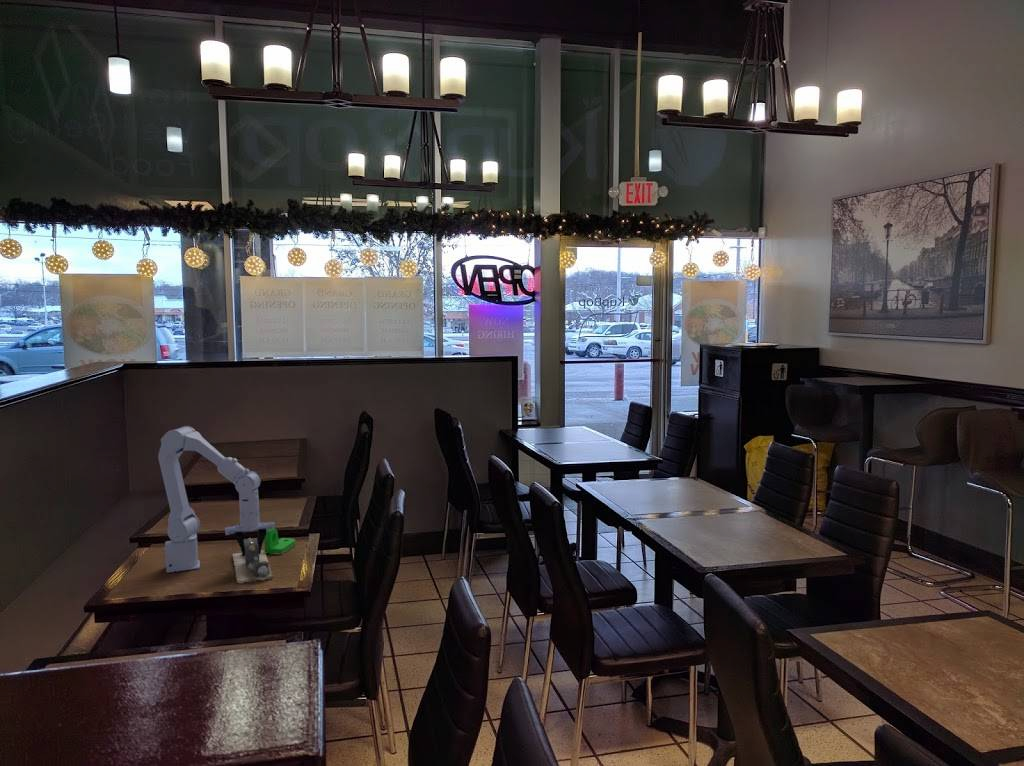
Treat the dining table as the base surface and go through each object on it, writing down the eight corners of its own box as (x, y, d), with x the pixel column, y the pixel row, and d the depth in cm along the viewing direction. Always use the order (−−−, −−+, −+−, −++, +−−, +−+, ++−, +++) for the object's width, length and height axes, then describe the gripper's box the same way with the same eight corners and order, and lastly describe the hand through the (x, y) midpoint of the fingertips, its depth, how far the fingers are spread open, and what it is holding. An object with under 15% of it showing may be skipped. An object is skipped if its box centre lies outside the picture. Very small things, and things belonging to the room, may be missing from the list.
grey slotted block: (245, 566, 228) (245, 546, 227) (243, 557, 236) (243, 538, 235) (259, 564, 229) (258, 544, 229) (257, 555, 238) (256, 537, 237)
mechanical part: (281, 555, 245) (281, 531, 244) (265, 554, 246) (264, 530, 245) (298, 544, 257) (297, 521, 256) (282, 543, 258) (281, 521, 257)
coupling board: (237, 583, 218) (237, 581, 218) (232, 556, 244) (232, 553, 244) (272, 578, 222) (272, 576, 222) (264, 552, 248) (264, 549, 248)
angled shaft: (246, 572, 226) (246, 560, 225) (259, 569, 228) (259, 557, 228) (258, 578, 220) (257, 566, 220) (271, 575, 223) (270, 563, 222)
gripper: (225, 517, 225) (227, 561, 226) (275, 511, 231) (276, 554, 232) (224, 512, 231) (226, 554, 232) (272, 506, 237) (274, 548, 238)
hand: (251, 554), depth 232 cm, fingers closed on grey slotted block, 4 cm apart
